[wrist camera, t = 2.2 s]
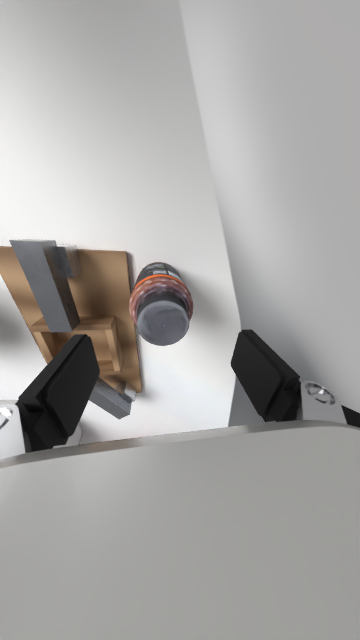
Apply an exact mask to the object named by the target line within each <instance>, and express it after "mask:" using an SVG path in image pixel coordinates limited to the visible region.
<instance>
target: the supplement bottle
mask: <svg viewBox="0 0 360 640" xmlns="http://www.w3.org/2000/svg"><path fill="white" fill-rule="evenodd" d="M129 312H130V316H131V318H132V320H133V322H134V324H135V325H136V326H137V328H138V331H139V333H140V335H141V336H142V337H143V338H144V339H145V340H146V341H147V342H149V343H151V344H154V345H159V346H165V345H171V344H174V343H176V342H178V341H179V340H180V339H182V338H183V337H184V335H185V334H186V332H187V331H188V328H189V321H190V319H191V316H192V313H193V301H192V297H191V294H190V292H189V291H188V289H187V287H186V286H185V284H184V282H183V281H182V279H181V278H180V276H179V274H178V273H177V271H176V270H175V269H174V268H173V267H171V266H170V265H168V264H166V263H160V262H156V263H152V264H149V265H147V266H146V267H145V268H143V269H142V271H141V272H140V274H139V276H138V278H137V281H136V283H135V286H134V289H133V291H132V294H131V297H130V301H129Z"/></svg>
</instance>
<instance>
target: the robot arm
mask: <svg viewBox="0 0 360 640" xmlns="http://www.w3.org/2000/svg"><path fill="white" fill-rule="evenodd" d="M231 367H232V369H233V370H234V372H235V374H236V376H237V377H238V379H239V381H240V383H241V384H242V386H243V388H244V390H245V392H246V393H247V395H248V397H249V399H250V400H251V402H252V404H253V406H254V407H255V409H256V411H257V413H258V414H259V415H260V416H262V418H263V419H264V421H265V422H269V421H274V420H275V421H276V422H272V423H263V424H254V425H245V426H235V427H226V428H217V429H208V430H199V431H190V432H182V433H173V434H165V435H156V436H147V437H139V438H131V439H123V440H114V441H106V442H98V443H89V444H82V445H75V446H68V447H61V448H53V447H54V446H59V445H66V443H67V441H68V438H69V437H70V436H72V435H73V434H74V432H75V430H76V427H77V425H78V423H79V421H80V418H81V416H82V414H83V411H84V409H85V407H86V405H87V402H88V400H89V398H90V395H91V393H92V391H93V388H94V386H95V384H96V382H97V379H98V377H99V374H100V369H99V365H98V361H97V358H96V354H95V351H94V347H93V343H92V340H91V337H90V336H88V335H87V334H75V335H73V336H72V338H71V339H70V340H69V341H68V342H67V343H66V344H65V346H64V347H63V348H62V349H61V350H60V351H59V352H58V353H57V355H56V356H55V357H54V358H53V359H52V360H51V361H50V363H49V364H48V365H47V366H46V367H45V368H44V369H43V370H42V372H41V373H40V374H39V375H38V376H37V377H36V378H35V379H34V381H33V382H32V383H31V384H30V385H29V386H28V387H27V389H26V390H25V391H24V392H23V393H22V394H21V395H20V396H19V400H18V401H17V402H16V403H15V405H14V404H4V405H0V640H360V413H358V412H355V411H353V410H351V409H349V408H347V407H344V406H342V405H341V404H340V401H339V399H338V398H337V396H336V395H335V394H334V393H333V392H332V391H331V390H329V389H328V388H327V387H325V386H323V385H321V384H319V383H317V382H314V381H308V380H307V381H303V382H302V383H301V382H300V381H299V378H300V376H299V375H298V374H297V373H296V372H295V371H294V370H293V369H292V368H290V366H289V365H287V363H286V362H285V361H283V360H282V359H281V358H280V357H279V356H278V355H277V354H276V353H275V352H274V351H273V350H272V349H271V348H270V347H269V346H268V345H267V344H266V343H265V342H264V341H263V340H262V339H261V338H260V337H259V336H258V335H257V334H256V333H255V332H254V331H253V330H242V331H241V332H239V334H238V338H237V342H236V345H235V349H234V353H233V356H232V360H231Z"/></svg>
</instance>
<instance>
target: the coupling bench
mask: <svg viewBox="0 0 360 640" xmlns="http://www.w3.org/2000/svg"><path fill="white" fill-rule="evenodd" d="M77 251H78V255H79V259H80V263H81V266H82V270H83V273H82V274H80V275H78V276H76V277H74V278H67V280H68V283H69V286H70V290H71V293H72V296H73V299H74V302H75V306H76V309H77V312H78V315H79V318H80V321H81V322H80V323H79V324H78V326H77V327H76V328H75V329H74V330H73V331H72V332H50V330H49V328H48V326H47V324H46V321H45V319H44V317H43V315H42V312H41V310H40V308H39V306H38V303H37V301H36V299H35V297H34V294H33V292H32V290H31V288H30V285H29V283H28V281H27V279H26V276H25V274H24V272H23V270H22V267H21V265H20V263H19V261H18V258H17V256H16V254H15V252H14V249H13V247H5V246H0V274H1V276H2V278H3V280H4V282H5V284H6V286H7V287H8V289H9V291H10V293H11V295H12V297H13V299H14V301H15V303H16V305H17V307H18V309H19V311H20V312H21V314H22V316H23V318H24V320H25V322H26V324H27V326H28V328H29V330H30V332H31V334H32V336H33V337H34V339H35V341H36V343H37V345H38V347H39V349H40V351H41V353H42V355H43V357H44V359H45V361H46V362H47V364H49V363H50V361H51V360H52V359H53V358H54V357H55V356H56V355H57V353H58V352H59V351H60V350H61V349H62V348H63V347H64V346H65V344H66V343H67V342H68V341H69V340H70V339H71V338H72V336H73V335H75V334H87V335H88V336H90V337H91V340H92V343H93V347H94V351H95V354H96V358H97V361H98V365H99V369H100V374H99V377H100V378H101V379H102V380H104V381H105V382H106V383H108V384H109V385H110V386H111V387H115V386H117V385H119V384H121V383H123V382H126V381H127V382H129V383H130V384H131V385H132V386H133V387H134V388H135V389H136V393H139V392H142V386H141V377H140V368H139V359H138V350H137V342H136V333H135V324H134V322H133V320H132V318H131V316H130V312H129V301H130V297H131V289H130V280H129V271H128V262H127V253H126V251H105V250H80V249H77Z"/></svg>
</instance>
